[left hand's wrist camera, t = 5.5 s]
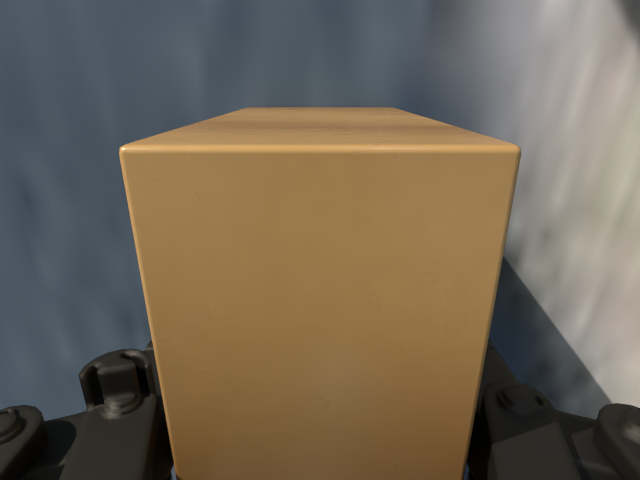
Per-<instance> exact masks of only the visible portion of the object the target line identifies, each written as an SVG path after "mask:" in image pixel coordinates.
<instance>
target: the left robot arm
mask: <svg viewBox="0 0 640 480" xmlns="http://www.w3.org/2000/svg"><path fill="white" fill-rule="evenodd" d="M78 375H79V379H80V383H81V387H82V390H83V394H84V398H85V402H86V406H87V410H86V411H85V412H81V413H78V414H75V415H70V416H66V417H62V418H57V419H53V420H49V421H44V419H43V416H42V412H41V411H40V410H38V409H37V408H36V407H34V406H28V405H20V406H13V407H8V408H5V409H2V410H0V480H172V474H171V470H172V467H173V464H174V461H173V455H172V450H171V444H170V438H169V433H168V427H167V421H166V416H165V410H164V404H163V399H162V393H161V387H160V382H159V376H158V370H157V365H156V359H155V353H154V348H153V342H152V341H150V343H149V344H148V346H147V347H146V351H140V350H137V349H121V350H117V351H113V352H109V353H106V354H104V355H102V356H100V357H97V358H95V359H94V360H93V361H91V362H90V363H88V364H87V365H86V366H85V367H84V368H83V369H82V370H81V372H80V373H79V374H78ZM467 464H468V467H469V474H468V480H640V408H638V407H635V406H632V405H626V404H618V403H615V404H609V405H605V406H604V407H603V408H602V409H601V410H600V411H599V414H598V417H597V420H595V419H590V418H586V417H582V416H577V415H573V414H568V413H565V412H561V411H558V410H555V409H553V407H552V405H551V404H550V402H549V401H548V399H547V398H546V397H545V396H543V395H542V394H541V393H540V392H538V391H537V390H536V389H534V388H532V387H530V386H528V385H526V384H523V383H519V382H518V381H517V379H516V378H515V376H514V375H513V373H512V372H511V370H510V369H509V367H508V366H507V364H506V363H505V361H504V360H503V358H502V357H501V355H500V354H499V352H498V351H497V349H495V346H494V345H493V343H492V342H491V340H490V339H488V344H487V349H486V355H485V361H484V366H483V372H482V378H481V383H480V389H479V395H478V400H477V406H476V412H475V417H474V423H473V428H472V434H471V440H470V445H469V451H468V457H467Z"/></svg>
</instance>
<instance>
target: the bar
mask: <svg viewBox="0 0 640 480" xmlns="http://www.w3.org/2000/svg"><path fill="white" fill-rule="evenodd" d="M119 155H120V161H121V167H122V172H123V178H124V184H125V189H126V195H127V201H128V206H129V212H130V218H131V223H132V229H133V235H134V240H135V246H136V252H137V257H138V263H139V269H140V274H141V280H142V286H143V291H144V297H145V303H146V308H147V314H148V320H149V325H150V331H151V336H152V342H153V348H154V353H155V359H156V365H157V370H158V376H159V382H160V387H161V393H162V399H163V404H164V410H165V416H166V421H167V427H168V433H169V438H170V444H171V450H172V455H173V461H174V467H175V472H176V478H177V480H463V479H464V474H465V468H466V462H467V457H468V451H469V445H470V440H471V434H472V428H473V423H474V417H475V412H476V406H477V400H478V395H479V389H480V383H481V378H482V372H483V366H484V361H485V355H486V349H487V344H488V338H489V332H490V327H491V321H492V315H493V310H494V304H495V298H496V293H497V287H498V281H499V276H500V270H501V265H502V259H503V253H504V248H505V242H506V236H507V231H508V225H509V219H510V214H511V208H512V202H513V197H514V191H515V185H516V180H517V174H518V168H519V163H520V157H521V149H520V147H519V146H517V145H515V144H512V143H508V142H505V141H502V140H498V139H495V138H492V137H488V136H485V135H482V134H478V133H475V132H472V131H469V130H465V129H462V128H459V127H455V126H452V125H449V124H445V123H442V122H439V121H435V120H432V119H429V118H426V117H422V116H419V115H416V114H412V113H409V112H406V111H402V110H399V109H396V108H393V107H248V108H244V109H241V110H238V111H234V112H231V113H228V114H225V115H221V116H218V117H215V118H211V119H208V120H205V121H201V122H198V123H195V124H192V125H188V126H185V127H182V128H178V129H175V130H172V131H168V132H165V133H162V134H158V135H155V136H152V137H149V138H145V139H142V140H139V141H135V142H132V143H129V144H126V145H124V146H121V147H120V152H119Z"/></svg>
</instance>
